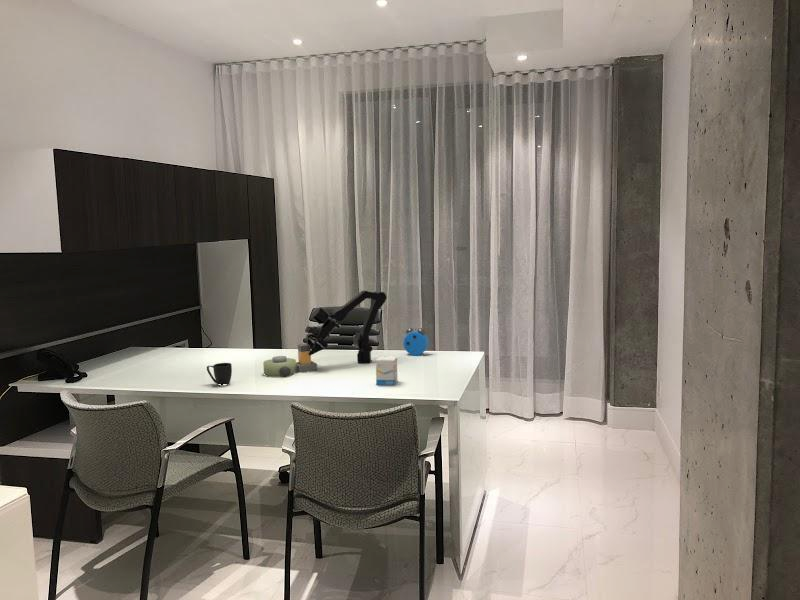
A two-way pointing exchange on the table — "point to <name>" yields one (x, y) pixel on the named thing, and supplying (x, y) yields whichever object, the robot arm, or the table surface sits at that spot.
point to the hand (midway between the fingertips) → (306, 353)
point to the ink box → (386, 370)
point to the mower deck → (285, 366)
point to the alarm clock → (415, 341)
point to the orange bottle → (304, 354)
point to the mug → (221, 373)
